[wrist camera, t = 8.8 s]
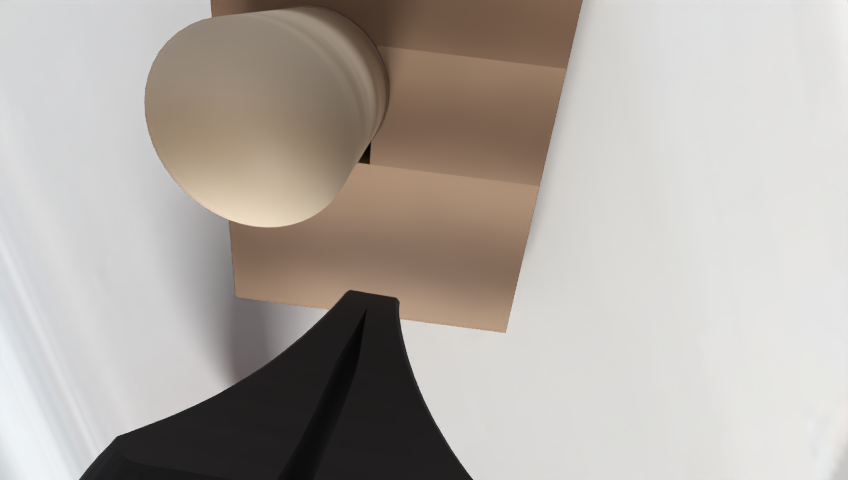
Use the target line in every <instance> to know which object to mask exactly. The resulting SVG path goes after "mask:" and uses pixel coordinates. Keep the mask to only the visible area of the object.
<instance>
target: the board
mask: <svg viewBox="0 0 848 480" xmlns="http://www.w3.org/2000/svg"><path fill="white" fill-rule="evenodd" d="M299 5H313V6H320V7H325V8H328V9H331V10H334V11H337V12H339V13H341V14H342V15H344V16H346V17H348V18H349V19H351V20H352V21H353V22H355V23H356V24H357V25H358V26H360V27H361V28H362V29H363V30H364V31H365V32H366V33H367V35H368V36H369V37H370V38H371V39H372V41H373V42H374V44H375V45H377V48H378V50H379V52H380V54H381V56H382V58H383V61H384V64H385V67H386V70H387V75H388V80H389V103H388V109H387V113H386V116H385V119H384V121H383V123H382V126H381V128H380V129H379V131H378V132H377V134H376V136H375V137H374V139H373V140H372V141H371V142H370V143H369V145H368V146H367V148H366V150H365V151H364V153H363V154H362V156H361V158H360V159H359V161H358V163H357V164H356V166H355V168H354V169H353V171H352V172H351V174H350V176H349V177H348V179H347V181H346V182H345V184H344V186H343V187H342V189H341V190H340V192H339V193H338V195H337V196H336V197H335V198H334V199H333V201H332V202H331V203H330V204H329V205H328V206H326V207H325V208H324V209H323V210H322V211H320V212H319V213H317V214H316V215H314V216H312V217H311V218H308V219H306V220H304V221H302V222H299V223H295V224H292V225H288V226H281V227H256V226H249V225H245V224H240V223H237V222H234V221H231V220H229V226H230V238H231V250H232V262H233V274H234V286H235V297H237V298H245V299H252V300H260V301H268V302H275V303H283V304H290V305H298V306H306V307H313V308H321V309H328V310H330V309H331V308H332V307H333V306H334V305H335V304H336V303H337V302H338V301H339V299H340V298H341V297H342V296H343V295H344V294H345V293H346V292H347V291H349V290H354V291H360V292H366V293H372V294H378V295H384V296H390V297H396V298H397V299H398V300H399V301H400V305H399V316H400V319H404V320H412V321H419V322H427V323H434V324H442V325H450V326H457V327H465V328H472V329H480V330H487V331H495V332H503V333H506V329H507V324H508V320H509V316H510V312H511V307H512V303H513V299H514V294H515V290H516V286H517V281H518V277H519V273H520V268H521V264H522V260H523V255H524V251H525V247H526V242H527V238H528V234H529V229H530V225H531V221H532V216H533V212H534V208H535V204H536V199H537V195H538V191H539V186H540V182H541V178H542V173H543V169H544V165H545V160H546V156H547V152H548V147H549V143H550V139H551V134H552V130H553V126H554V121H555V117H556V113H557V108H558V104H559V100H560V96H561V91H562V87H563V83H564V78H565V74H566V70H567V65H568V61H569V57H570V52H571V48H572V44H573V39H574V35H575V31H576V26H577V22H578V18H579V13H580V9H581V5H582V0H211V12H212V18H213V17H218V16H226V15H235V14H244V13H252V12H261V11H270V10H278V9H282V8H286V7H291V6H299Z"/></svg>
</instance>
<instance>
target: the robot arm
mask: <svg viewBox="0 0 848 480" xmlns="http://www.w3.org/2000/svg"><path fill="white" fill-rule="evenodd" d="M399 305H400V301H399V300H398V299H397V298H396V297H390V296H384V295H378V294H372V293H366V292H360V291H354V290H349V291H347V292H346V293H345V294H344V295H343V296H342V297H341V298H340V299H339V301H338V302H337V303H336V304H335V305H334V306H333V307H332V308H331V309H330V310H329V311H328V312H327V313H326V314H325V315H324V316H323V317H322V318H321V319H320V320H319V321H318V322H317V323H316V324H315V325H314V326H313V327H312V328H311V329H310V330H309V331H308V332H306V333H305V334H304V335H303V336H302V337H301V338H299V339H298V340H297V341H296V342H295V343H293V344H292V345H291V346H290V347H289V348H287V349H286V350H285V351H284V352H282V353H281V354H280V355H278V356H277V357H276V358H274V359H273V360H272V361H270V362H269V363H268V364H266V365H265V366H263V367H262V368H260V369H259V370H257V371H256V372H254V373H253V374H251V375H250V376H248V377H246V378H245V379H243V380H241V381H240V382H238V383H236V384H235V385H233V386H231V387H230V388H228V389H226V390H224V391H223V392H221V393H219V394H217V395H215V396H213V397H211V398H209V399H207V400H205V401H203V402H201V403H199V404H197V405H195V406H193V407H190V408H188V409H186V410H184V411H182V412H179V413H177V414H175V415H172V416H170V417H168V418H165V419H163V420H160V421H157V422H155V423H152V424H149V425H147V426H144V427H142V428H139V429H136V430H134V431H131V432H128V433H125V434H123V435H120V436H117V437H116V438H115V439H114V440H113V442H112V443H111V444H110V445H109V446H108V447H107V448H106V449H105V450H104V451H103V452H102V453H101V454H100V455H99V456H98V457H97V458H96V460H95V461H94V462H93V463H92V464H91V465H90V467H89V468H88V469H87V470H86V471H85V473H84V474H83V475H82V477H81V478H80V479H79V480H473V479H472V478H471V477H470V475H469V474H468V473H467V471H466V470H465V469H464V467H463V466H462V464H461V463H460V461H459V460H458V458H457V457H456V456H455V454H454V453H453V451H452V450H451V448H450V446H449V445H448V443H447V441H446V440H445V438H444V436H443V435H442V433H441V431H440V430H439V428H438V426H437V425H436V423H435V421H434V419H433V417H432V415H431V413H430V411H429V409H428V407H427V405H426V403H425V401H424V399H423V396H422V394H421V392H420V390H419V387H418V385H417V382H416V380H415V377H414V374H413V371H412V368H411V365H410V362H409V359H408V356H407V352H406V348H405V344H404V340H403V336H402V331H401V324H400V316H399Z"/></svg>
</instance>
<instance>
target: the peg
mask: <svg viewBox="0 0 848 480" xmlns="http://www.w3.org/2000/svg"><path fill="white" fill-rule="evenodd" d="M388 103H389V80H388V75H387V70H386V67H385V64H384V61H383V58H382V56H381V54H380V52H379V50H378V48H377V47H376V45H375V44H374V42H373V41H372V39H371V38H370V37H369V36H368V35H367V33H366V32H365V31H364V30H363V29H362V28H361V27H360V26H358V25H357V24H356V23H355V22H353V21H352V20H351V19H349V18H348V17H346V16H344V15H342V14H341V13H339V12H337V11H334V10H331V9H328V8H325V7H320V6H313V5H299V6H291V7H286V8H282V9H278V10H270V11H261V12H252V13H244V14H235V15H226V16H218V17H213V18H208V19H204V20H201V21H198V22H196V23H193V24H191V25H189V26H187V27H186V28H184V29H182V30H181V31H179V32H178V33H177V34H175V35H174V36H173V37H172V38H171V39H170V40H169V41H168V42H167V43H166V44H165V45H164V47H163V48H162V49H161V50H160V51H159V53H158V55H157V57H156V59H155V60H154V62H153V64H152V67H151V70H150V72H149V75H148V79H147V84H146V88H145V116H146V122H147V127H148V131H149V134H150V137H151V140H152V143H153V146H154V148H155V150H156V152H157V155H158V157H159V158H160V160H161V162H162V163H163V165H164V167H165V169H166V170H167V171H168V173H169V174H170V175H171V177H172V178H173V179H174V181H175V182H176V183H177V184H178V185H179V186H180V187H181V188H182V189H183V190H184V191H185V192H186V193H187V194H188V195H189V196H190V197H191V198H193V199H194V200H195V201H197V202H198V203H199V204H201V205H202V206H203V207H205V208H207V209H208V210H210V211H212V212H213V213H215V214H217V215H219V216H221V217H224V218H226V219H228V220H231V221H234V222H237V223H240V224H245V225H249V226H256V227H281V226H288V225H292V224H295V223H299V222H302V221H304V220H306V219H308V218H311V217H312V216H314V215H316V214H317V213H319V212H320V211H322V210H323V209H324V208H325V207H326V206H328V205H329V204H330V203H331V202H332V201H333V199H334V198H335V197H336V196H337V195H338V193H339V192H340V190H341V189H342V187H343V186H344V184H345V182H346V181H347V179H348V177H349V176H350V174H351V172H352V171H353V169H354V168H355V166H356V164H357V163H358V161H359V159H360V158H361V156H362V154H363V153H364V151H365V150H366V148H367V146H368V145H369V143H370V142H371V141H372V140H373V139H374V137H375V136H376V134H377V132H378V131H379V129H380V128H381V126H382V123H383V121H384V119H385V116H386V113H387V109H388Z"/></svg>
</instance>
